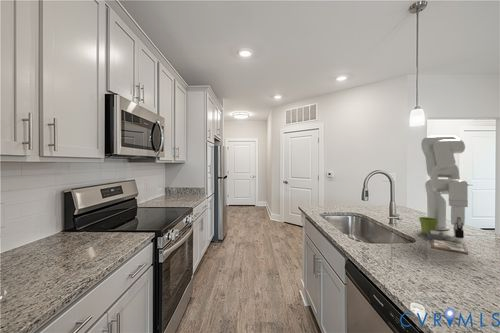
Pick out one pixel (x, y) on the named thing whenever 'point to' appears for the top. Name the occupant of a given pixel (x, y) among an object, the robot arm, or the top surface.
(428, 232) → the button box
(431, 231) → the button cap
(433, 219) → the plant pot
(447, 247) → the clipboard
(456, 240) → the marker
